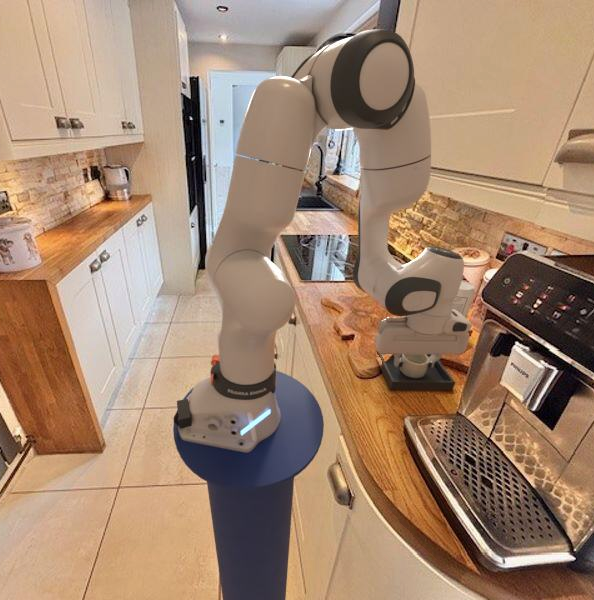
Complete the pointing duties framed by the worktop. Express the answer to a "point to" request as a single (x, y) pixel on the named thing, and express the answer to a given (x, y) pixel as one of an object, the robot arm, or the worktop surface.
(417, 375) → the cup
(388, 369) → the tray
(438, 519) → the worktop surface
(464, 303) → the supplement can
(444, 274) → the robot arm
